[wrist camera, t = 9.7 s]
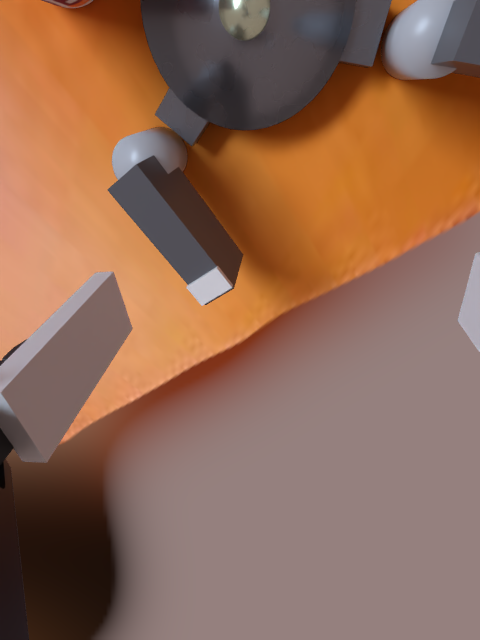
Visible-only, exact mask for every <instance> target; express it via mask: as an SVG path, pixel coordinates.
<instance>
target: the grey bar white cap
mask: <svg viewBox="0 0 480 640" xmlns="http://www.w3.org/2000/svg"><path fill="white" fill-rule="evenodd" d="M381 60H382V63H383V66H384V68H385V70H386V71H387V72H388V73H389V74H390V75H391V76H392V77H394V78H396V79H400V80H415V79H434V78H440V77H443V76H446V75H448V74H450V73H457V74H462V75H468V76H474V77H479V78H480V0H418V1H416V2H415V3H413V4H412V5H410V6H409V7H407V8H406V9H404V10H403V11H401V12H400V13H399V14H398V15H397V16H396V17H395V18H394V19H393V20H392V21H391V23H390V24H389V26H388V27H387V29H386V31H385V33H384V36H383V39H382V43H381Z"/></svg>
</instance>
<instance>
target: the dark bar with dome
mask: <svg viewBox="0 0 480 640" xmlns="http://www.w3.org/2000/svg"><path fill="white" fill-rule="evenodd" d="M187 156H188V155H187V149H186V146H185V144H184V142H183V140H182V139H181V137H180V136H179V135H178V134H177V133H176V132H174V131H173V130H171V129H169V128H166V127H155V128H152V129H149V130H146V131H142V132H139V133H136V134H133V135H130V136H127V137H125V138H123V139H121V140H120V141H119V142H118V143H117V145H116V146H115V149H114V151H113V156H112V165H113V170H114V173H115V175H116V177H117V179H118V181H117V182H116V183H115V184H113V185H112V186H111V187H110V188H109V189H108V191H109V192H110V194H111V195H112V196H113V197H114V198H115V200H116V201H117V202H118V203H119V204H120V205H121V207H122V208H123V209H124V210H125V211H126V213H127V214H128V215H129V216H130V217H131V218H132V220H133V221H134V222H135V223H136V224H137V225H138V227H139V228H140V229H141V230H142V231H143V233H144V234H145V235H146V236H147V237H148V238H149V240H150V241H151V242H152V243H153V244H154V245H155V247H156V248H157V249H158V250H159V251H160V253H161V254H162V255H163V256H164V257H165V258H166V260H167V261H168V262H169V263H170V264H171V265H172V267H173V268H174V269H175V270H176V271H177V273H178V274H179V275H180V276H181V277H182V278H183V280H184V281H185V282H186V283H187V284H188V285H187V287H186V288H187V289H188V290H189V291H190V292H191V294H192V295H193V296H194V297H195V298H196V299H197V301H198V302H199V303H200V304H201V305H204V304H205V305H207V304H208V303H210V302H212V301H213V300H215V299H217V298H218V297H220V296H222V295H224V294H225V293H227V292H229V291H230V290H232V289H234V286H235V283H236V279H237V276H238V272H239V268H240V265H241V261H242V257H243V253H242V252H241V251H240V249H239V248H238V247H237V245H236V244H235V243H234V241H233V240H232V239H231V237H230V236H229V234H228V233H227V232H226V230H225V229H224V228H223V226H222V225H221V224H220V222H219V221H218V220H217V218H216V217H215V215H214V214H213V213H212V211H211V210H210V209H209V207H208V206H207V205H206V203H205V202H204V200H203V199H202V198H201V196H200V195H199V194H198V192H197V191H196V190H195V188H194V187H193V186H192V184H191V183H190V181H189V180H188V179H187V177H186V176H185V175H184V173H183V171H184V169H185V167H186V164H187Z"/></svg>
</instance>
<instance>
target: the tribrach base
mask: <svg viewBox="0 0 480 640" xmlns="http://www.w3.org/2000/svg"><path fill="white" fill-rule="evenodd" d="M391 1H392V0H141V12H142V19H143V26H144V30H145V34H146V38H147V42H148V45H149V48H150V51H151V53H152V56H153V59H154V61H155V63H156V65H157V67H158V69H159V71H160V73H161V75H162V77H163V78H164V80H165V81H166V83H167V85H168V86H169V87H170V88H169V90H168V92H167V94H166V95H165V97H164V99H163V101H162V103H161V104H160V106H159V108H158V110H157V111H156V113H155V115H156V116H157V117H158V118H159V119H161V120H162V121H163V122H164V123H165V124H166V125H168V126H169V127H170V128H171V129H172V130H173V131H175V132H176V133H177V134H178V135H179V136H180V137H181V138H183V139H184V140H185V141H186V142H187V143H188V144H190V145H191V146H193V145H194V144H196V143H197V142H198V140H199V139H200V137H201V136H202V134H203V133H204V131H205V129H206V128H207V126H208V125H209V123H210V122H211V123H213V124H216V125H218V126H221V127H225V128H229V129H235V130H256V129H262V128H267V127H270V126H273V125H275V124H278V123H280V122H282V121H284V120H286V119H288V118H290V117H292V116H293V115H295V114H296V113H297V112H299V111H300V110H302V109H303V108H304V107H305V106H306V105H307V104H308V103H310V102H311V101H312V100H313V99H314V98H315V96H316V95H317V94H318V93H319V92H320V91H321V90H322V88H323V87H324V85H325V84H326V83H327V81H328V80H329V78H330V77H331V75H332V73H333V72H334V70H335V68H336V66H337V64H338V63H344V64H349V65H355V66H361V67H366V68H368V67H372V66H373V62H374V59H375V56H376V52H377V49H378V45H379V42H380V38H381V35H382V31H383V28H384V25H385V21H386V18H387V14H388V11H389V7H390V4H391Z"/></svg>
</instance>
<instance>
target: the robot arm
mask: <svg viewBox="0 0 480 640" xmlns="http://www.w3.org/2000/svg"><path fill="white" fill-rule="evenodd" d="M458 322H459V323H460V325H461V326H462V328H463V329H464V331H465V332H466V333H467V335H468V336H469V338H470V339H471V341H472V342H473V344H474V345H475V347H476V348H477V349H478V351H479V352H480V252H478V253H475V257H474V261H473V264H472V268H471V272H470V276H469V280H468V283H467V287H466V291H465V295H464V298H463V302H462V306H461V310H460V313H459V317H458ZM132 329H133V328H132V325H131V323H130V320H129V317H128V314H127V311H126V308H125V305H124V302H123V299H122V296H121V293H120V290H119V287H118V284H117V281H116V278H115V275H114V272H96V273H95V274H94V275H93V276H92V277H90V278H89V279H88V280H87V281H86V282H85V283H84V284H83V285H82V286H81V287H80V288H79V289H78V290H77V291H76V292H75V293H74V294H73V295H72V296H71V297H70V298H69V299H68V300H67V301H66V302H65V303H64V304H63V305H62V306H61V307H60V308H59V309H58V310H57V311H56V312H55V313H54V314H53V315H52V316H51V317H50V318H49V319H48V320H47V321H46V322H45V323H43V324H42V325H41V326H40V327H39V328H38V329H37V330H36V331H35V332H34V333H33V334H32V335H31V336H30V337H29V338H28V339H27V340H25V341H23V342H22V343H20V344H19V345H17V346H15V347H14V348H13V349H12V350H11V351H10V352H8V353H7V354H6V355H5V356H4V357H3V358H2V359H3V360H2V361H0V640H29V635H28V625H27V616H26V606H25V597H24V589H23V578H22V569H21V560H20V550H19V540H18V531H17V521H16V512H15V503H14V493H13V484H12V475H11V467H10V465H9V463H8V461H7V460H6V459H5V458H6V457H7V456H8V454H9V453H10V452H11V450H12V449H13V448H14V450H15V451H16V453H17V454H18V455H19V457H20V458H21V460H22V461H23V462H25V461H26V462H47V461H48V460H49V458H50V457H51V455H52V453H53V452H54V450H55V449H56V447H57V446H58V444H59V443H60V441H61V439H62V438H63V436H64V435H65V433H66V432H67V430H68V429H69V427H70V425H71V424H72V422H73V421H74V419H75V418H76V416H77V414H78V413H79V411H80V410H81V408H82V407H83V405H84V404H85V402H86V400H87V399H88V397H89V396H90V394H91V393H92V391H93V390H94V388H95V386H96V385H97V383H98V382H99V380H100V379H101V377H102V375H103V374H104V372H105V371H106V369H107V368H108V366H109V365H110V363H111V361H112V360H113V358H114V357H115V355H116V354H117V352H118V351H119V349H120V347H121V346H122V344H123V343H124V341H125V340H126V338H127V336H128V335H129V333H130V332H131V330H132Z"/></svg>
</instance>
